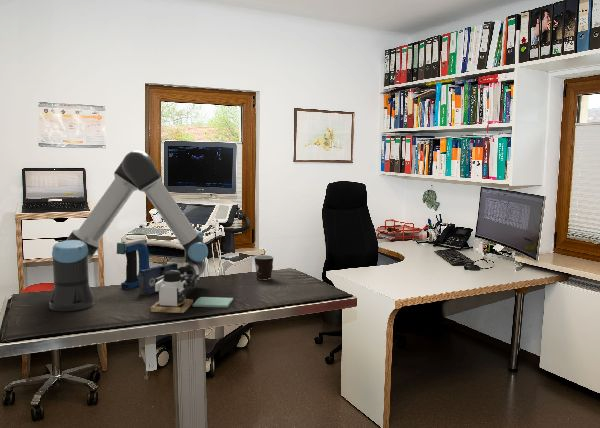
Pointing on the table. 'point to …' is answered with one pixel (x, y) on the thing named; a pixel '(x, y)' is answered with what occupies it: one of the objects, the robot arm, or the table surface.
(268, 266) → the coffee mug
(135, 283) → the handheld scanner
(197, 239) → the robot arm
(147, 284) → the vhs cassette tape
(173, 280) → the medicine bottle
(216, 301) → the rubber mat
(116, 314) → the table surface
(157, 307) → the oak cradle
